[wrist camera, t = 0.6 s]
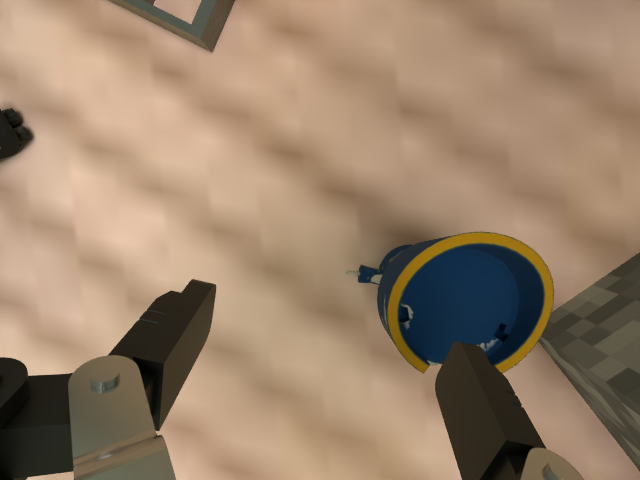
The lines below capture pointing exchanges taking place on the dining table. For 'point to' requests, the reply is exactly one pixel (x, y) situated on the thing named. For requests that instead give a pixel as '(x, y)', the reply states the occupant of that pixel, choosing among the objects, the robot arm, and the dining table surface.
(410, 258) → the figurine
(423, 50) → the dining table surface
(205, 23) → the divided rectangular frame
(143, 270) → the dining table surface
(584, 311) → the block
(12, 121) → the toy gun
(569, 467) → the robot arm
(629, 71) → the dining table surface
